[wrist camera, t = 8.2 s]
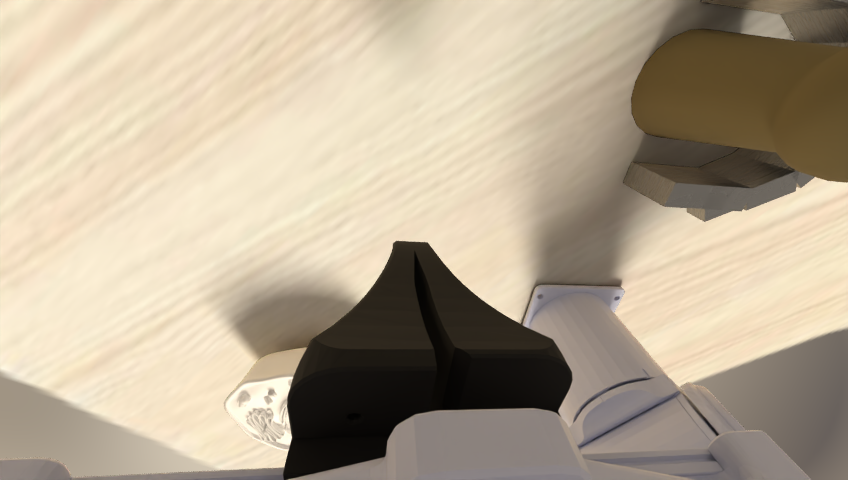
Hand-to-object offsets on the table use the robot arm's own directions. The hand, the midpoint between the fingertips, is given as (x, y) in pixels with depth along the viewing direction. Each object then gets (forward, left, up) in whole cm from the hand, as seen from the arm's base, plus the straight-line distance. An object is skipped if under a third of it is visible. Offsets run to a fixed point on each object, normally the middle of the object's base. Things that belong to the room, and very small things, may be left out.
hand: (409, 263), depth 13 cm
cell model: (-18, +6, -10) cm, 22 cm away
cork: (+7, -17, -10) cm, 21 cm away
